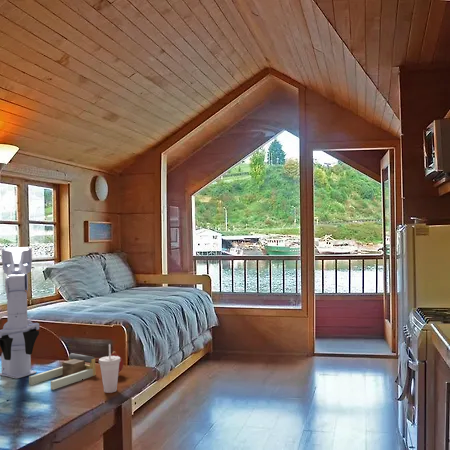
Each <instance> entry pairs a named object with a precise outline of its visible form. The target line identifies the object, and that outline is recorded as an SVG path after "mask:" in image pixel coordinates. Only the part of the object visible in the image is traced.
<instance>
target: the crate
mask: <svg viewBox="0 0 450 450" xmlns="http://www.w3.org/2000/svg"><path fill="white" fill-rule="evenodd" d="M85 364H86V362H85V361H84V360H78V359H72V360H69V359H68V360H66V361H65V360H64V361H62V363H61V367H62V366H63V375H62V377H65V376H68V375H71V374H74V373H77V372H80V371H83V370H85Z"/></svg>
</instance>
